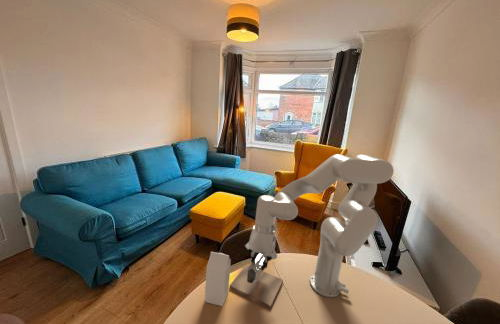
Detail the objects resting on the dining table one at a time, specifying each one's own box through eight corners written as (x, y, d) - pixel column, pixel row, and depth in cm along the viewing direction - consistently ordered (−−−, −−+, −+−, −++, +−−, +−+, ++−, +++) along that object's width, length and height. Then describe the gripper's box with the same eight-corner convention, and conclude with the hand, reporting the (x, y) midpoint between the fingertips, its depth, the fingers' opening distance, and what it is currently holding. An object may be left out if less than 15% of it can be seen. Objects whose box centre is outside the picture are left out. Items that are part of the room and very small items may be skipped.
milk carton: (222, 306, 77) (226, 261, 73) (204, 302, 78) (207, 257, 74) (228, 291, 84) (231, 249, 80) (211, 287, 85) (214, 246, 81)
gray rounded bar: (253, 284, 78) (254, 275, 78) (244, 280, 80) (245, 271, 79) (268, 262, 92) (269, 254, 91) (260, 258, 93) (261, 251, 93)
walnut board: (282, 282, 91) (283, 279, 91) (270, 309, 78) (270, 305, 77) (246, 266, 99) (246, 264, 98) (229, 288, 85) (229, 285, 85)
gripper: (286, 229, 83) (280, 269, 87) (249, 216, 90) (245, 254, 94) (281, 237, 76) (274, 280, 80) (241, 223, 83) (236, 263, 87)
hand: (258, 265), depth 87 cm, fingers closed on gray rounded bar, 4 cm apart
